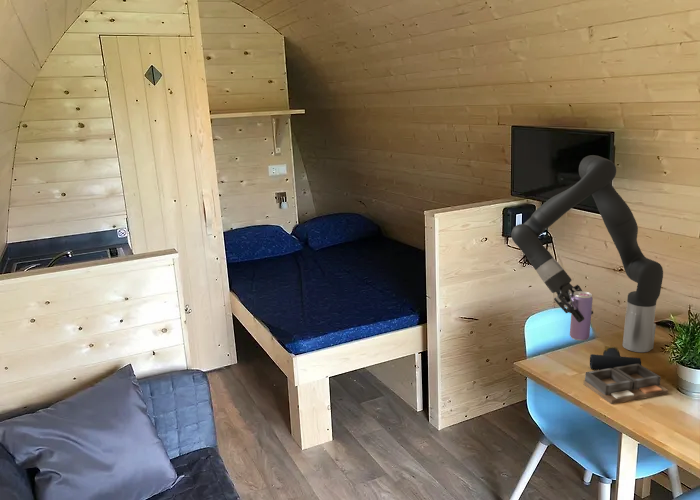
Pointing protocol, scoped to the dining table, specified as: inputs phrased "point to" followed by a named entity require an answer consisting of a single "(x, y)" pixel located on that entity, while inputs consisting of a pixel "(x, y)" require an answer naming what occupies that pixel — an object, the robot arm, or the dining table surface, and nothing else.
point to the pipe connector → (611, 359)
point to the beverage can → (584, 306)
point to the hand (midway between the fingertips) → (586, 317)
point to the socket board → (624, 383)
